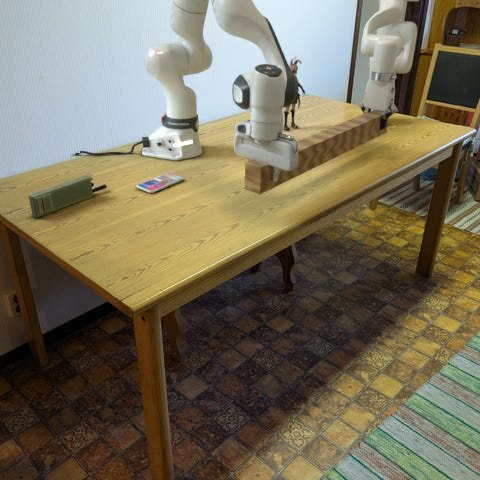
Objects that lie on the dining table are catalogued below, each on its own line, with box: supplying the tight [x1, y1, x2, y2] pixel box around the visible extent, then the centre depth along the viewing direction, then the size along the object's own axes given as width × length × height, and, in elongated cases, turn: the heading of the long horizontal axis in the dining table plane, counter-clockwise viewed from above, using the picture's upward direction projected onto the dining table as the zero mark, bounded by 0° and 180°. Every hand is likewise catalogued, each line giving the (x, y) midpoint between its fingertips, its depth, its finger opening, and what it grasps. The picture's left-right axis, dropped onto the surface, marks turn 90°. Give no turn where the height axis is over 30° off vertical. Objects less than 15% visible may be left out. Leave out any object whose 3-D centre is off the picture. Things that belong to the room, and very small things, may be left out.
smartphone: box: [136, 172, 184, 194], centre depth 164 cm, size 7×1×15 cm
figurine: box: [282, 56, 306, 132], centre depth 211 cm, size 15×6×30 cm, turn 132°
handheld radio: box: [28, 173, 108, 219], centre depth 150 cm, size 7×3×25 cm
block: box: [244, 110, 390, 195], centre depth 163 cm, size 75×6×8 cm, turn 139°
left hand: (264, 177), depth 142 cm, fingers closed on block, 5 cm apart
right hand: (374, 126), depth 185 cm, fingers closed on block, 5 cm apart
